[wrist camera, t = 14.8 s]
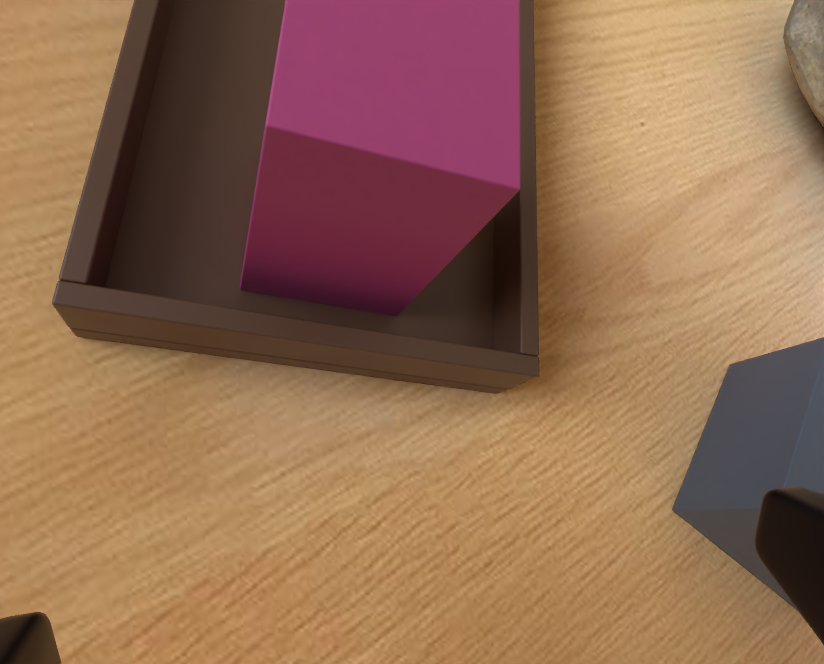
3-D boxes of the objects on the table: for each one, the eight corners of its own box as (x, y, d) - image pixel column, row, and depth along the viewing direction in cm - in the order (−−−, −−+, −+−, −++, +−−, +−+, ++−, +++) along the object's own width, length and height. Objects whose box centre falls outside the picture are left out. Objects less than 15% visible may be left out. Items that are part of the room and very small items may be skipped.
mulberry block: (397, 316, 17) (521, 189, 11) (239, 289, 16) (265, 124, 9) (406, 183, 19) (520, -3, 12) (262, 149, 17) (298, -82, 11)
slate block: (810, 621, 20) (944, 644, 16) (670, 509, 20) (777, 508, 16) (851, 465, 23) (972, 455, 19) (729, 364, 22) (831, 334, 19)
